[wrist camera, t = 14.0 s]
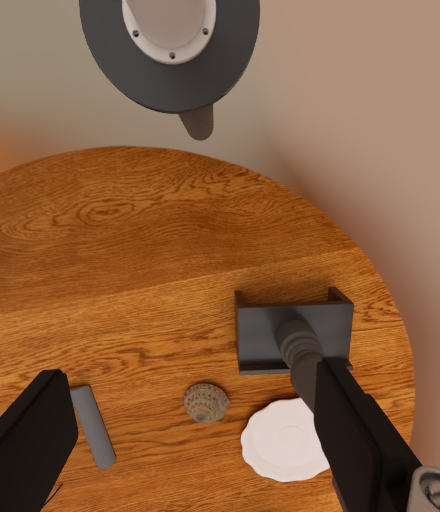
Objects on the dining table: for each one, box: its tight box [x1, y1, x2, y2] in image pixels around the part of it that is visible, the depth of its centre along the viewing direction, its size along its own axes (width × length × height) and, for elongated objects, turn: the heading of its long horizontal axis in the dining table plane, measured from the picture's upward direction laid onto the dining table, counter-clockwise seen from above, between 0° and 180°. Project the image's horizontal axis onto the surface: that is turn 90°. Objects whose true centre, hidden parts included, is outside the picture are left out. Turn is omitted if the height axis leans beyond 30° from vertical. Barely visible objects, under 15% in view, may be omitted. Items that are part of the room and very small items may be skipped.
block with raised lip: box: [235, 287, 354, 375], centre depth 48 cm, size 11×18×8 cm, turn 92°
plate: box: [240, 398, 330, 482], centre depth 58 cm, size 21×21×2 cm
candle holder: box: [276, 320, 348, 512], centre depth 33 cm, size 6×6×25 cm
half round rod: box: [70, 386, 115, 470], centre depth 56 cm, size 4×20×2 cm, turn 11°
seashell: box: [184, 384, 229, 423], centre depth 55 cm, size 8×6×8 cm
